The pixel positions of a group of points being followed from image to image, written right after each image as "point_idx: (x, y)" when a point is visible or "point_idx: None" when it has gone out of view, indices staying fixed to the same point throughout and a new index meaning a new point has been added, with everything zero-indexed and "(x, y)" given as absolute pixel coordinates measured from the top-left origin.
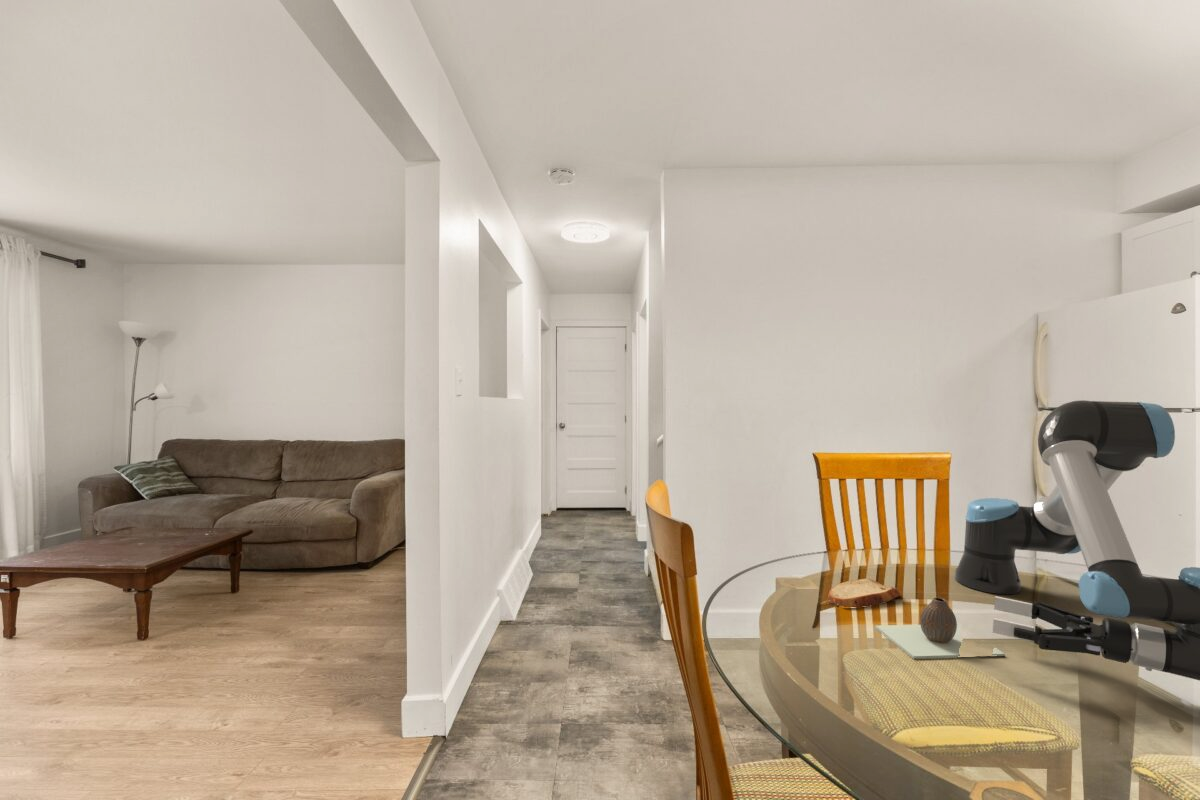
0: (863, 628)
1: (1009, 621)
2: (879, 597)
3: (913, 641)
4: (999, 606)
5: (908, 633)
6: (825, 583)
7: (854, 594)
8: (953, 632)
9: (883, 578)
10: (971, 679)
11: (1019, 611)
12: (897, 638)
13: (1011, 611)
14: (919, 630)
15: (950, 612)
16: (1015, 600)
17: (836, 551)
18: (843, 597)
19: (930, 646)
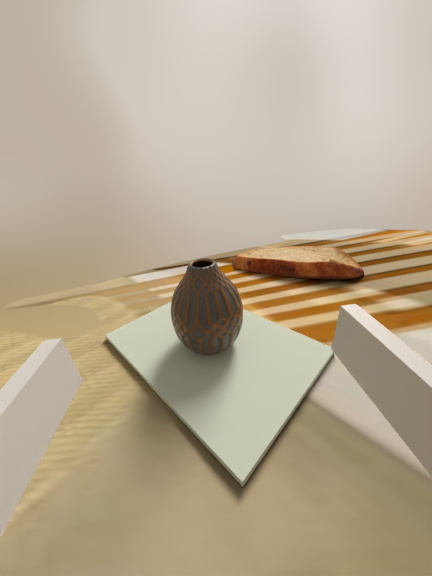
0: None
1: (19, 388)
2: (291, 267)
3: (169, 323)
4: (345, 348)
5: None
6: None
7: (272, 257)
8: (191, 340)
9: (399, 260)
10: None
11: (407, 424)
12: (167, 309)
13: (375, 395)
14: None
15: (194, 296)
16: (422, 361)
17: (410, 230)
18: (244, 255)
19: (164, 341)
